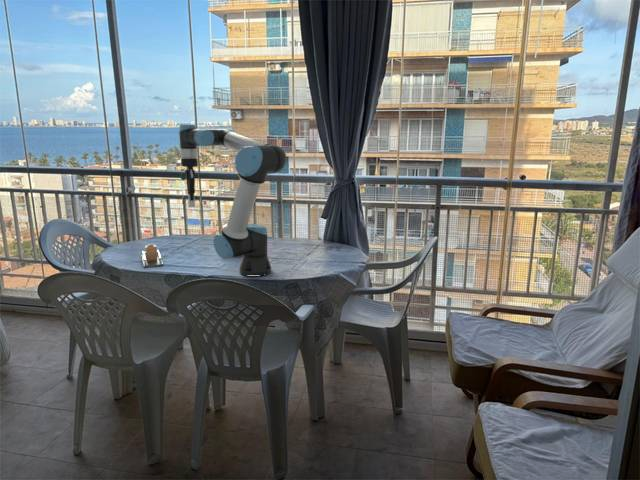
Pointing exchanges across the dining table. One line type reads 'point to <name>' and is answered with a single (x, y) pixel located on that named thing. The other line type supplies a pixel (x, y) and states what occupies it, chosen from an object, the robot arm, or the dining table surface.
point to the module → (151, 252)
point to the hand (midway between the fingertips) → (191, 206)
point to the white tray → (152, 262)
